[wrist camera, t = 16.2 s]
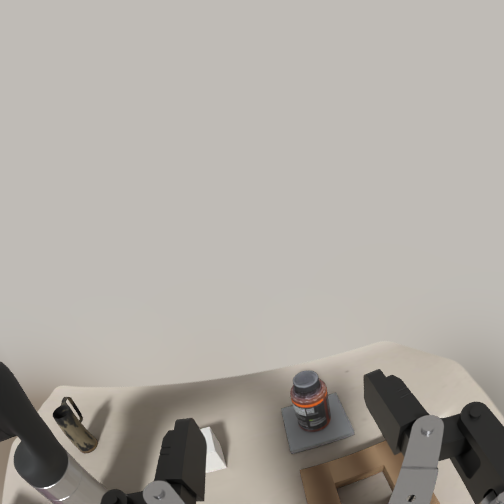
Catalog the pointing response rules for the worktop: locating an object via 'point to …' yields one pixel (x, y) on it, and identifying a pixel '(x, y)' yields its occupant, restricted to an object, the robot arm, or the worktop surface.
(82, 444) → the mug
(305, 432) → the slate pad
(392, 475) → the socket block
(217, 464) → the white cube
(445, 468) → the worktop surface
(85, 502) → the robot arm
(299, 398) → the supplement bottle
